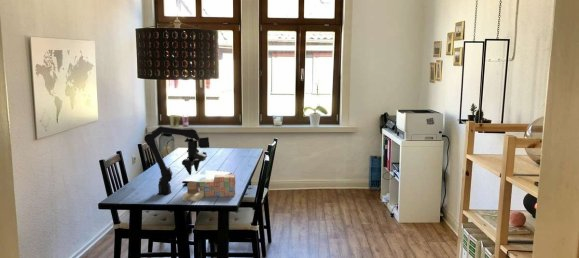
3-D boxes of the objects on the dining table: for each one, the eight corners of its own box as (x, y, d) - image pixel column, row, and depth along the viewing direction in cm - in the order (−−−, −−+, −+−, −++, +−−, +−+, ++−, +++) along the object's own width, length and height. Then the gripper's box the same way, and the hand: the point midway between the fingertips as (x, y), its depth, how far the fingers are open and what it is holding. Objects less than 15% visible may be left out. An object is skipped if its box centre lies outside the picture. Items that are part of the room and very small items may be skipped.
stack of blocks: (199, 196, 275) (198, 177, 273) (201, 193, 281) (200, 174, 279) (234, 196, 275) (234, 177, 273) (235, 193, 281) (235, 174, 279)
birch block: (183, 200, 268) (183, 194, 267) (190, 196, 276) (190, 189, 276) (197, 201, 266) (197, 195, 265) (204, 197, 274) (203, 191, 273)
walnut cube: (195, 194, 267) (195, 184, 266) (187, 193, 268) (187, 183, 268) (198, 191, 272) (198, 181, 271) (191, 191, 273) (190, 181, 272)
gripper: (198, 152, 270) (198, 177, 272) (210, 146, 287) (211, 170, 290) (181, 151, 272) (181, 176, 275) (194, 145, 290) (195, 169, 292)
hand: (193, 172), depth 283 cm, fingers open, 9 cm apart
